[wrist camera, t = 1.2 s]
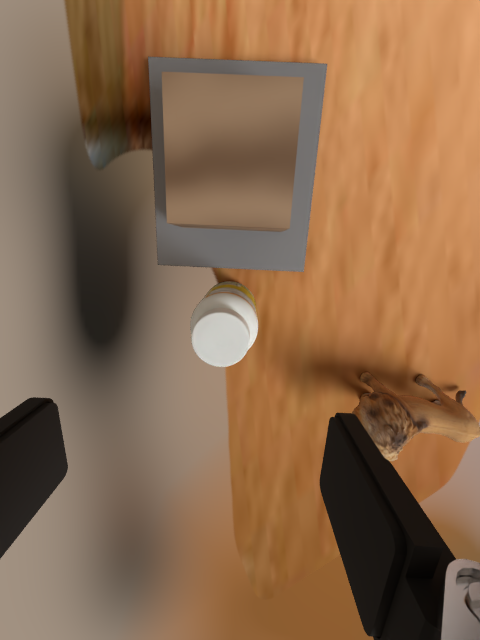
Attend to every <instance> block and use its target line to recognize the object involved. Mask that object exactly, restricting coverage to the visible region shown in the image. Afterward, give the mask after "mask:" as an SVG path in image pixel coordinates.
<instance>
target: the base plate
mask: <svg viewBox="0 0 480 640" xmlns="http://www.w3.org/2000/svg"><path fill="white" fill-rule="evenodd" d="M148 62H149V84H150V105H151V127H152V148H153V170H154V191H155V213H156V233H157V234H156V235H157V256H158V265H171V266H193V267H213V268H234V269H255V270H276V271H298V272H304V264H305V255H306V246H307V237H308V229H309V220H310V211H311V202H312V193H313V185H314V176H315V167H316V158H317V150H318V141H319V132H320V123H321V114H322V106H323V97H324V88H325V79H326V71H327V64H319V63H293V62H268V61H242V60H217V59H191V58H166V57H148ZM162 72H183V73H209V74H234V75H259V76H284V77H304V81H303V92H302V102H301V113H300V124H299V134H298V145H297V156H296V166H295V177H294V187H293V198H292V209H291V219H290V229H287V230H285V231H282V232H271V231H249V230H227V229H205V228H183V227H179V226H176V225H172V224H169V223H167V211H166V183H165V154H164V125H163V97H162Z"/></svg>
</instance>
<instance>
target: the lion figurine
mask: <svg viewBox="0 0 480 640" xmlns="http://www.w3.org/2000/svg"><path fill="white" fill-rule="evenodd" d="M360 380H361V381H362V382H365V383H366V384H367V385H369V386H371V387H372V389H373V390H374V392H372V393H365V394H363V395H362V396H361V399H360V402H359V405H358V406H357V407H356V408H355V409H354V411H353V412H352V414H355V415H356V416H357V417H358V419H359V420H360V422H361V423H362V425H363V426H364V428H365V429H366V431H367V432H368V434H369V435H370V437H371V438H372V440H373V441H374V443H375V444H376V446H377V447H378V449H379V451H380V452H381V454H382V455H383V457H384V458H385V459H387V460H388V461H394V460H396V459H397V455H398V454H399V452H400V451H402V450H403V446H404V445H406V444H407V443H408V442H409V441H410V439H412V438H413V436H414V435H417V434H419V433H434V434H440V435H444V436H446V437H448V438H450V439H452V440H454V441H456V442H461V443H464V442H469V441H472V440H473V439H474V438H477V437H479V436H480V427H479V424H478V422H477V420H476V418H475V417H474V416H473V415H472V414H471V413H470V412H469V411H468V410H467V409H466V408H465V407H464V406H463V404H462V399H463V398H464V396H465V394H466V391H458V392H457V394H456V401H455V400H453V399H451V398H450V397H449V396H447V395H445V394H444V393H443V392H442V390H441V389H440V388H438V387H437V386H435V385H434V384H433V383H432V382H431V381H430V380H429V379H428V378H427V377H425V376H423V375H420V376H418V377H417V379H416V383H417V384H418V385H420V386H424V387H426V388H428V389H429V390H431V391H432V392H433V393H434V394H435V395H436V396H437V398H438V400H439V401H434V402H433V403H432V402H430V401H427V400H425V399H422V398H419V397H414V396H397V395H396V394H395V393H393V392H392V391H390V390H389V389H388V388H386V387H385V386H384V385H382V384H381V383H380V382H379V381H377V380H376V379H375V378H374V377H373V376H372V375H371V374H370V373H368V372H365V373H363V374H362V375H361V376H360Z"/></svg>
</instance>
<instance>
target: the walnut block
mask: <svg viewBox="0 0 480 640" xmlns="http://www.w3.org/2000/svg"><path fill="white" fill-rule="evenodd" d="M303 81H304V77H284V76H259V75H234V74H209V73H183V72H162V97H163V125H164V154H165V183H166V211H167V223H169V224H172V225H176V226H179V227H183V228H205V229H227V230H249V231H271V232H282V231H285V230H287V229H290V219H291V209H292V198H293V187H294V177H295V166H296V156H297V145H298V134H299V124H300V113H301V102H302V92H303Z"/></svg>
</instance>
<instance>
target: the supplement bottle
mask: <svg viewBox="0 0 480 640" xmlns="http://www.w3.org/2000/svg"><path fill="white" fill-rule="evenodd" d="M190 326H191V327H190V328H191V334H192V336H191V339H192V346H193V348H194V351H195V353H196V354H197V355H198V357H199V358H200V359H202V360H203V361H204V362H206V363H208V364H210V365H213V366H217V367H226V366H230V365H233V364H235V363H237V362H238V361H240V360H241V359H242V358H243V357H244V356H245V354H246V352H247V350H248V349H249V348H250V347H251V346H252V345H253V343H254V341H255V339H256V336H257V332H258V319H257V312H256V304H255V300H254V297H253V295H252V293H251V292H250V291H249V290H248V289H247V288H246V287H245V286H243V285H242V284H239V283H237V282H230V281H228V282H222V283H219V284H217V285H215V286H214V287H213V288H211V289H210V291H209V292H208V293H207V294H206V295H205V297H204V298H203V299H202V301H201V302H200V303H199V304H198V306H197V307H196V308H195V310H194V312H193V315H192V317H191V324H190Z"/></svg>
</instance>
